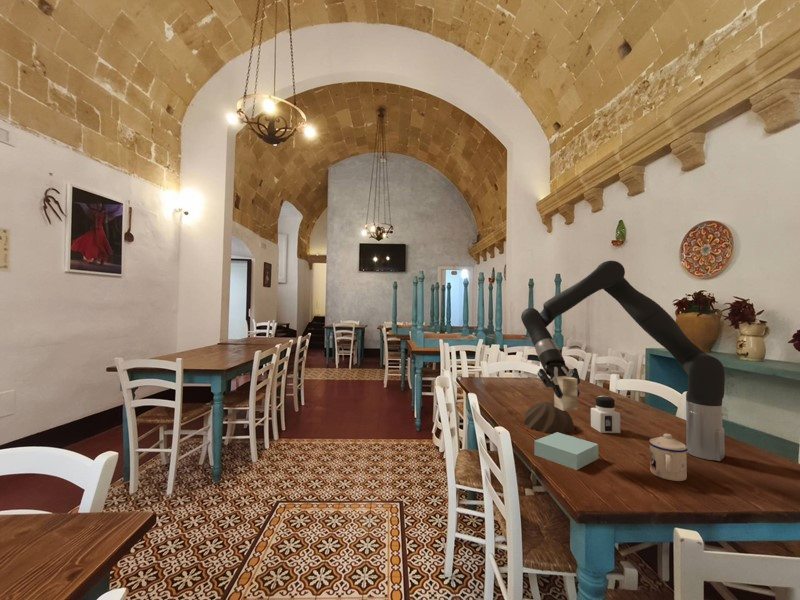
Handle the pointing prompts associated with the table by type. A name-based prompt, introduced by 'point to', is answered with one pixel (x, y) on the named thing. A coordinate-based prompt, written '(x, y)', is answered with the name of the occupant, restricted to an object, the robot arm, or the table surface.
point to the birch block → (566, 393)
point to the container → (605, 416)
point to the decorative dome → (548, 418)
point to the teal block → (566, 450)
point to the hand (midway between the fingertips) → (569, 396)
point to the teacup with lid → (668, 458)
